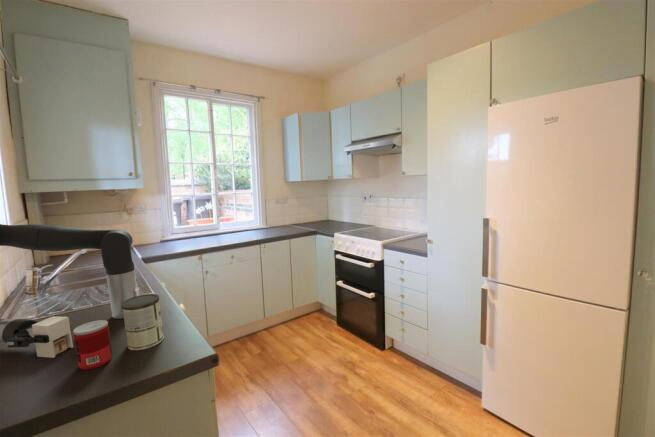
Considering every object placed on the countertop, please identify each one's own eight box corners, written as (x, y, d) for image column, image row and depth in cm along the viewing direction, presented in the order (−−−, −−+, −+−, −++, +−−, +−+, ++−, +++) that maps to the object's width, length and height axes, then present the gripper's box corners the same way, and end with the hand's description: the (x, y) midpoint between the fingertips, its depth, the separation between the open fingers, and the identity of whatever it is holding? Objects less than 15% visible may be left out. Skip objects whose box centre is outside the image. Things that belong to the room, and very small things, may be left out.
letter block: (43, 355, 95) (41, 342, 95) (57, 348, 99) (55, 336, 99) (54, 356, 94) (52, 343, 94) (67, 349, 98) (65, 337, 98)
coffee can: (123, 342, 100) (117, 300, 99) (158, 331, 107) (153, 291, 106) (131, 354, 93) (125, 309, 91) (168, 341, 100) (163, 298, 98)
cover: (37, 356, 94) (31, 325, 93) (57, 346, 100) (52, 316, 99) (53, 357, 93) (48, 325, 92) (73, 347, 99) (68, 317, 98)
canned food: (119, 356, 92) (114, 321, 91) (91, 372, 85) (85, 334, 83) (100, 353, 95) (95, 318, 93) (72, 368, 87) (66, 331, 86)
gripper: (-16, 331, 91) (31, 333, 88) (38, 310, 105) (79, 311, 102) (-11, 355, 92) (35, 358, 89) (41, 331, 106) (83, 333, 103)
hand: (59, 333), depth 96 cm, fingers closed on cover, 6 cm apart
